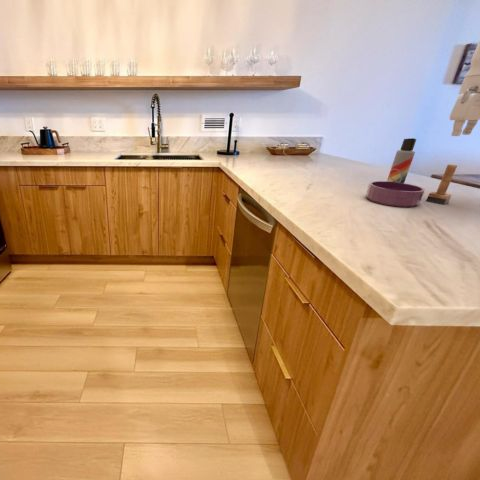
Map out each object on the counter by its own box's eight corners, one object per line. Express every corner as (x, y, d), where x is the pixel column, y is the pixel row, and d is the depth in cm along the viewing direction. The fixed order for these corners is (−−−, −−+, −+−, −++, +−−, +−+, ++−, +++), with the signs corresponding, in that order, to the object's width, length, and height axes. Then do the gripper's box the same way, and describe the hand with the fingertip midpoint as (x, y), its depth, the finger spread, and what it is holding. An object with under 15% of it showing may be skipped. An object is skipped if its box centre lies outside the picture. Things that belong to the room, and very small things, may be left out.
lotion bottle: (388, 190, 117) (405, 138, 109) (382, 186, 122) (398, 137, 114) (404, 190, 116) (423, 138, 108) (397, 187, 121) (415, 137, 113)
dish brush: (448, 202, 101) (464, 165, 96) (443, 204, 99) (460, 166, 94) (430, 199, 105) (445, 163, 100) (426, 201, 103) (440, 164, 98)
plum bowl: (426, 203, 101) (432, 188, 99) (406, 210, 94) (412, 194, 91) (377, 193, 113) (382, 179, 111) (357, 199, 106) (361, 184, 103)
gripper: (483, 85, 80) (462, 137, 85) (505, 87, 89) (484, 134, 95) (454, 86, 85) (435, 136, 90) (477, 88, 94) (459, 133, 100)
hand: (460, 135), depth 93 cm, fingers open, 8 cm apart
